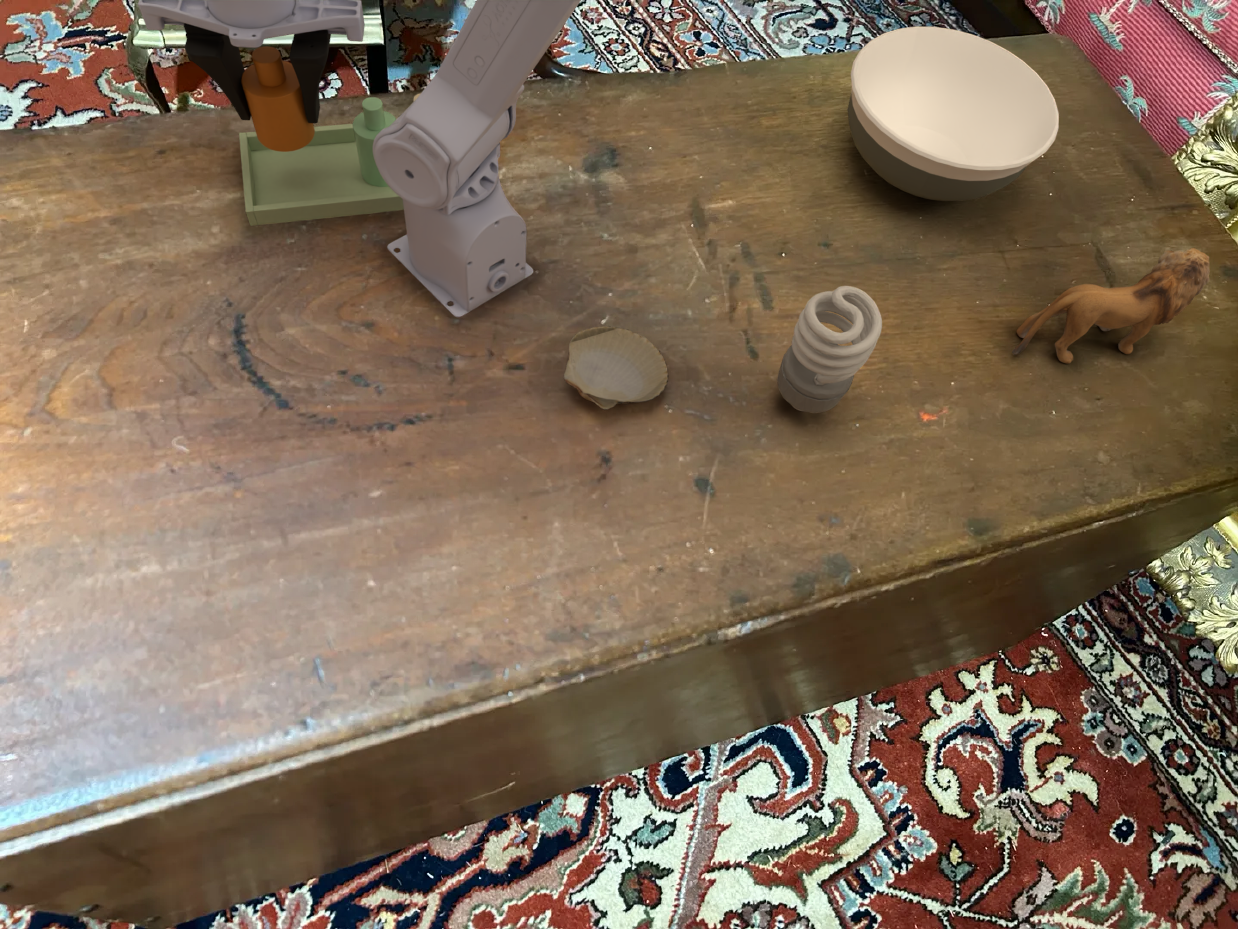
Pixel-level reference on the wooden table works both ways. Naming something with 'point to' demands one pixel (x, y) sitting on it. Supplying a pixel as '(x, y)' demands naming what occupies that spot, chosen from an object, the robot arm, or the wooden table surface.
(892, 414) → the wooden table surface
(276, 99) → the amber bottle
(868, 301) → the light bulb
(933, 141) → the bowl
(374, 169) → the green bottle
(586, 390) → the seashell
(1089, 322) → the lion figurine
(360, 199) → the tray
